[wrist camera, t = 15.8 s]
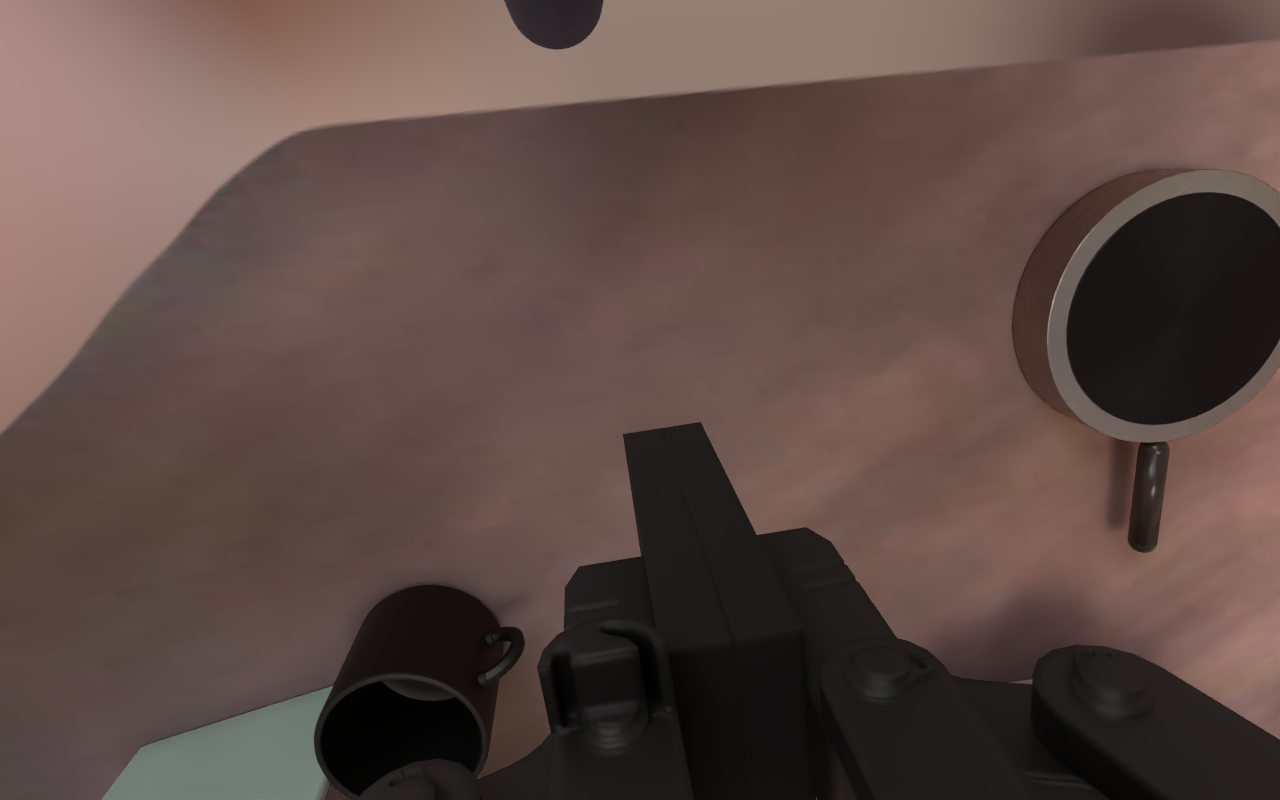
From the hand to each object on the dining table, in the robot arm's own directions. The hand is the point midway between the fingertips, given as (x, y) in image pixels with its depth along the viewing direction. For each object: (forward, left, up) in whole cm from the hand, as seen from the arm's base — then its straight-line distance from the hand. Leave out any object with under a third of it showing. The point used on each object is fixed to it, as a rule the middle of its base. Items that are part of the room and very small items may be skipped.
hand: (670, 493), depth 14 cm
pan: (+10, +32, -29) cm, 45 cm away
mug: (+22, -14, -30) cm, 39 cm away
